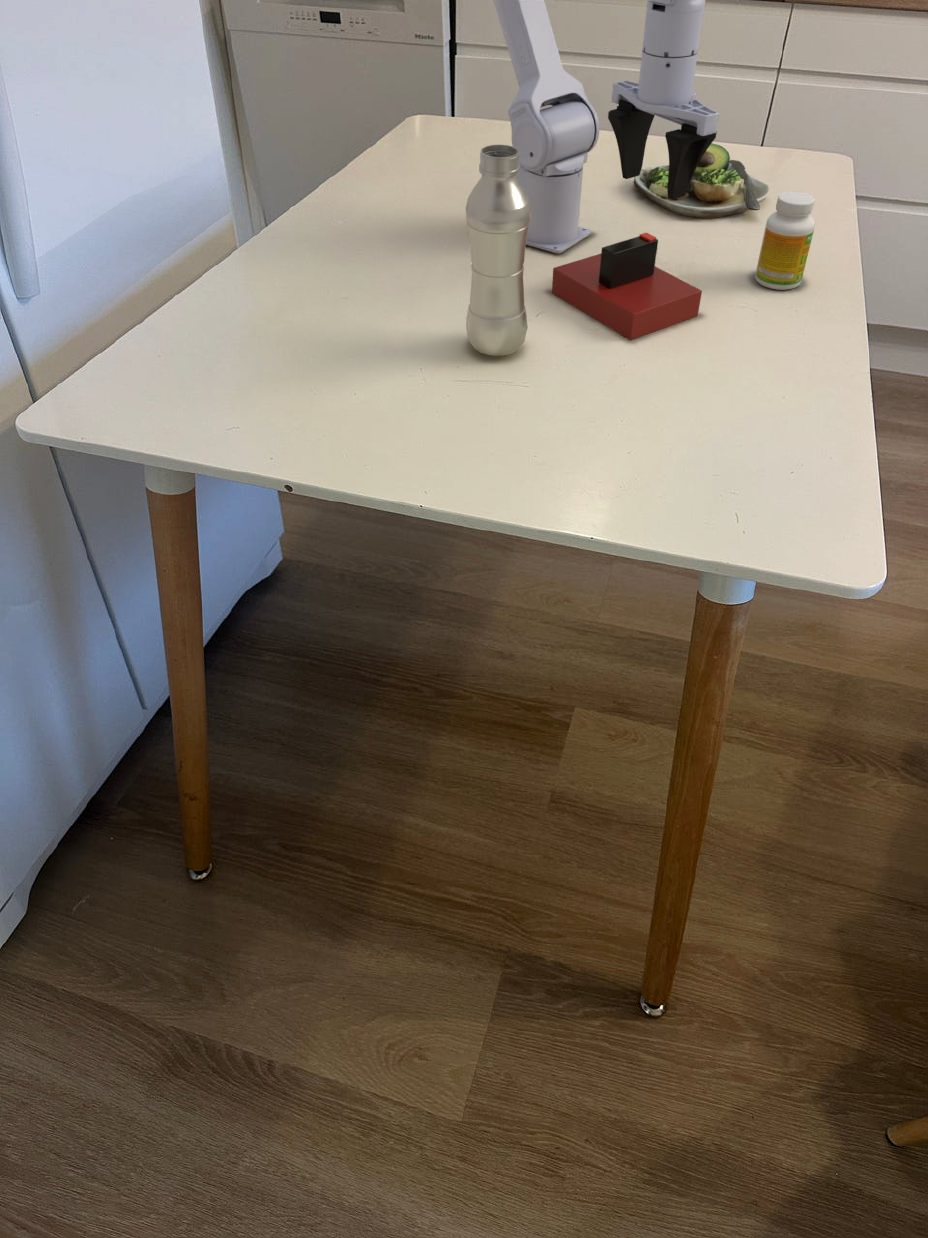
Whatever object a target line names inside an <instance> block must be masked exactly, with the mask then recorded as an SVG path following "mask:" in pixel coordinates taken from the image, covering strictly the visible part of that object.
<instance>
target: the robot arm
mask: <svg viewBox="0 0 928 1238" xmlns="http://www.w3.org/2000/svg"><path fill="white" fill-rule="evenodd" d="M646 2H647V3H646V11H645V22H644V31H643V40H642V49H641V58H640V66H639V67H640V68H639V77H638V82H634V81H630V80H622V81H618V82H613V83H612V91H611V92H612V93H611V102H612V103H613V104H616V105H617V106H616V108H614V109H611V110H609V111H608V113H607V114H608V115H607V119H608V120H609V124H610V126H611V128H612V130H613V133H614V136H615V139H616V143H617V148H618V154H619V161H620V168H621V176H622V178H623V179H625V180H628V179H632V178H634V177H636V176H639V175H640V172H641V169H643V163H644V158H645V152H646V151H645V150H646V145H647V140H648V136H649V133H650V130H651V126H652V124H653V121H654V119H655V116H656V117H659V118H661V119H663V120H666V121H669V122H671V123H674V124H677V125H679V126H680V128H678V129H673V130H670V131H666V132H665V140H666V141H665V142H666V145H667V152H668V165H669V176H668V187H667V192H668V198H670V199H676V198H680V197H683V196H685V195H686V192H687V189H688V187H689V184H690V182H691V179H692V177H693V174H694V172H695V170H696V168H697V166H698V164H699V162H700V160H701V158H702V157H703V155H704V153H705V152H706V150H707V149H708V147H709V146H710V145H711V143H712V144H713V142H714V140H716V138H717V133H718V124H719V118H720V112H719V111H715V110H714V109H712V108H710V107H708V106H707V105H705V104H704V103H702V102H701V101H700V100H699V99H697V92H695V91H694V90H693V89H694V84H695V75H696V68H697V61H698V56H699V49H700V41H701V34H702V27H703V20H704V13H705V7H706V6H705V5H706V0H647V1H646ZM493 4H494V7H495V11H496V13H497V17H498V20H499V23H500V27H501V31H502V34H503V38H504V41H505V44H506V47H507V51H508V55H509V57H510V61H511V65H512V68H513V71H514V75H515V77H516V81H517V84H518V90H517V92H516V94H515V96H514V98H513V100H512V101H511V103H510V105H509V107H508V109H507V115H508V118H509V122H510V127H511V146H512V147H515V148H517V149H518V150H519V167H520V168H519V173H518V174H517V175H516V178H517V179H518V181H519V182H520V184H521V185H522V187H523V188H524V190H525V192H526V194H527V196H528V198H529V202H530V206H531V217H530V224H529V229H528V235H527V241H526V246H529V247H533V248H537V249H540V250H544V251H547V252H551V253H555V254H562V253H564V252H565V251H567V250H568V249H570V248H571V247H572V246H574V245H576V244H578V243H579V242H580V241H582V240H584V239H586V238H587V237H589V236H591V234H592V229H589V228H586V227H582V226H580V225H579V223H580V211H581V197H582V188H583V187H582V186H583V185H582V184H583V174H584V164H586V163H588V156H589V155H588V153H590V152H591V151H592V150H593V149H594V148H595V147H596V144H597V143H598V140H599V136H600V123H599V121H600V120H599V117H598V114H597V111H596V110H595V108H594V106H593V105H592V104H591V102H590V101H589V99H588V97H587V94H586V92H585V89H584V85H583V83H582V82H581V81H579V80H578V79H577V78H576V77H574V76H573V75H571V74H570V73H569V72H567V71H565V69H564V67H563V62H562V59H561V55H560V52H559V49H558V44H557V42H556V41H557V40H556V38H555V34H554V31H553V27H552V23H551V19H550V17H549V12H548V9H547V6H546V1H545V0H493ZM546 106H549V107H546ZM544 107H545V108H544ZM541 108H542V109H541Z"/></svg>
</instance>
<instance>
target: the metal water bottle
mask: <svg viewBox="0 0 928 1238" xmlns="http://www.w3.org/2000/svg"><path fill="white" fill-rule="evenodd" d="M479 153H480V154H479V156H480V157H479V165H478V166H479V167H478V172H479V173H480V174H481V177H480V178H479V180H478V181H477V183H475V185H474V187H473V188H472V190H471V191H470V193H469V195H468V197H467V199H466V200H467V201H466V203H465V219H466V226H467V234H468V239H469V240H468V241H469V247H470V262H471V265H470V266H471V279H470V280H471V281H470V294H469V305H468V308H467V314H466V321H465V329H466V336H467V339H468V342H469V343H470V344H471V346H472V347H473V348H474V350H476V351H477V352H479V353H481V354H484V355H487V356H494V357H495V356H497V357H498V356H506V355H507V356H508V355H511V354H513V353H516V352H517V351H518V350H519V349H520V348H521V347H522V345H523V344H524V343H525V341H526V337H527V332H528V327H529V326H528V316H527V309H526V305H525V289H524V287H525V286H524V268H525V266H524V264H525V258H526V246H527V245H526V241H527V235H528V229H529V224H530V217H531V206H530V202H529V198H528V196H527V194H526V192H525V190H524V188H523V187H522V185H521V184H520V182H519V181H518V179H517V178H516V175H517V174H518V173H519V168H520V167H519V150H518V149H517V148H515V147H512V145H509V144H490V145H486V146H484V147H482V148H481V149H480V152H479Z"/></svg>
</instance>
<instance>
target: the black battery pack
mask: <svg viewBox="0 0 928 1238" xmlns="http://www.w3.org/2000/svg"><path fill="white" fill-rule="evenodd" d="M658 244H659V239H657V237H656V236H654V235H653V234H650V233H649V232H643V233H640V234H639V235H638V236H635V237H632V238H628V239H625V240H622V241H619V242H615V243H612V244H608V245H606V246H602V247H601V252H600V254H601V263H600V273H599V283H601V284H602V285H604V286H606V287H608V288H609V289H611V288H614V287H617V286H620V285H623V284H626V283H629V282H632V281H635V280H638V279H641V278H644V277H647V276H650V275H653V274H654V267H656V259H657V254H658V253H657V251H658Z"/></svg>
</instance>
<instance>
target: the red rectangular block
mask: <svg viewBox="0 0 928 1238" xmlns="http://www.w3.org/2000/svg"><path fill="white" fill-rule="evenodd" d="M600 263H601V253H598V254H595V255H591V256H588V257H584V258H582V259H578V260H575V261H571V262H568V263H565V264H562V265H558V266H556V267H553V268H552V282H551V283H552V285H551V293H552V294H553V295H555V296H557V297H558V298H560V299H562V300H563V301H565V302H566V303H568V304H569V305H571V306H573V307H575V308H576V309H578V310H580V311H582V312H583V313H585V314H586V315H588V316H590V317H591V318H593V319H595V320H596V321H598V322H599V323H601V324H603V325H604V326H606V327H607V328H610V329H611V330H613V331H615V332H616V333H618V334H619V335H622V336H623V337H624V338H626V339H628V340H629V341H632V340H634V339H638V338H640V337H644V336H646V335H649V334H651V333H654V332H657V331H660V330H662V329H665V328H668V327H672V326H673V325H677V324H679V323H682V322H685V321H688V320H690V319H691V320H692V319H694V318H696V317H699V311H700V305H701V300H702V299H701V298H702V294H703V290H701V289H700V288H697V287H696V286H694V285H692V284H690V283H689V282H686V281H684V280H682V279H680V278H679V277H676V276H675V275H673V274H671V273H669V272H667V271H665V270H663V269H661V268H659V267H657V266H655V267H654V274H653V275H650V276H647V277H644V278H641V279H638V280H635V281H632V282H629V283H626V284H623V285H620V286H617V287H614V288H611V289H609V288H608V287H606V286H604V285H602V284H601V283H599V273H600Z"/></svg>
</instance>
